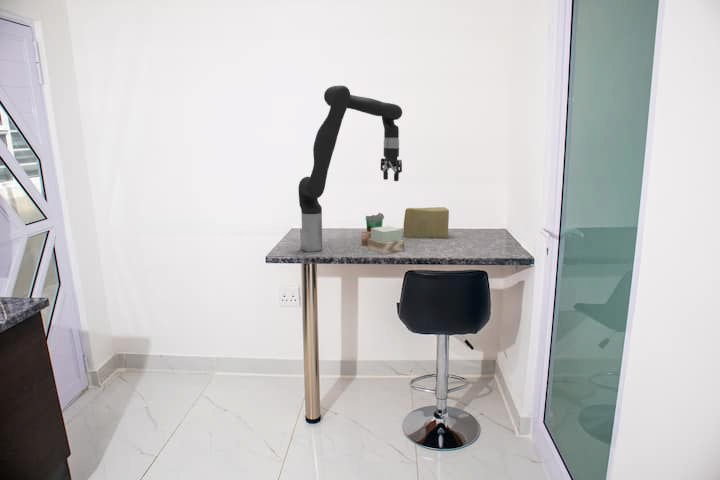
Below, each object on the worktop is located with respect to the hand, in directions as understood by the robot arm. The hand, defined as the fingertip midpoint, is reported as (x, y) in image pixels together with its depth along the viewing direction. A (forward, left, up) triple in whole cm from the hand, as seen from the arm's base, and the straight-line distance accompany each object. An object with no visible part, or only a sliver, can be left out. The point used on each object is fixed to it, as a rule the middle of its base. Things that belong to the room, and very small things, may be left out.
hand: (390, 180), depth 251 cm
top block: (-17, -19, -24) cm, 35 cm away
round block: (-19, -6, -29) cm, 35 cm away
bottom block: (-17, -19, -29) cm, 39 cm away
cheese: (+16, -8, -29) cm, 35 cm away
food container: (0, +12, -29) cm, 32 cm away
